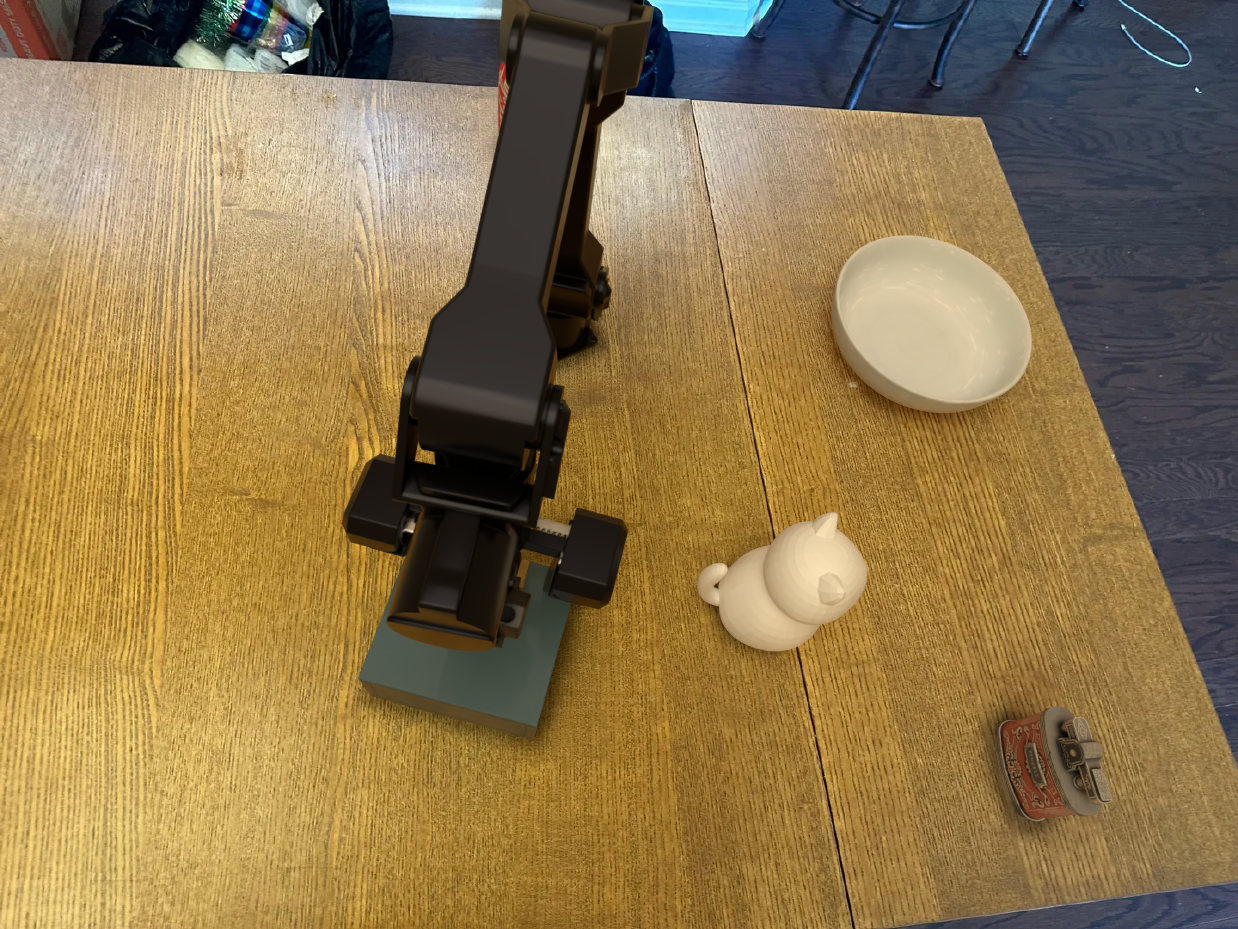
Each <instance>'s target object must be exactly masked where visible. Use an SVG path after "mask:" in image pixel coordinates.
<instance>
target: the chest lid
mask: <svg viewBox="0 0 1238 929" xmlns="http://www.w3.org/2000/svg"><path fill="white" fill-rule="evenodd" d="M405 557H406V556H404V559H403V561H402V564H401V567H400V569H399V572H398V574H397V577H396V579H395V582H394V585H393V587H392V590H391V592H390V594H389V597H388V600H387V602H386V605H385V608H384V610H383V612H382V615H381V618H380V621H379V623H378V625H377V628H376V631H375V633H374V635H373V638H372V641H371V644H370V646H369V649H368V651H367V654H366V657H365V659H364V662H363V663H362V666H361V670H360V672H359V674H358V677H357V678H358V681H359V682H360V681H364V682H367V683H371V684H375V685H378V686H382V687H386V688H389V689H393V690H397V691H401V692H404V693H408V694H412V695H415V696H419V697H423V698H426V699H430V700H434V701H437V702H441V703H445V704H449V705H452V706H456V707H460V708H463V709H467V710H471V711H474V712H478V713H482V714H486V715H489V716H493V717H497V718H500V719H504V720H508V721H511V722H515V723H519V724H522V725H526V726H530V727H534V728H537V729H538V726H539V723H538V722H540V719H541V716H540V715H542V712H541V711H543V708H544V705H543V704H545V701H546V697H547V694H548V690H549V687H550V683H551V679H552V676H551V675H553V672H554V668H555V665H556V661H557V658H558V654H559V650H560V647H559V646H561V643H560V642H562V639H563V636H564V632H565V628H566V625H567V621H568V617H569V614H570V610H571V607H570V606H572V603H570V602H566V601H562V600H558V599H555V598H551V597H548V592H544V591H543V590H542V588H543V585H544V581H545V578H546V575H547V571H548V568H549V565H545V564H541V563H539V562H534V561H531V560H527V559H524V558H522V560H521V564H520V567H519V570H518V574H517V577H521V582H520V585H519V588H520V590H521V591H524V592H527V593H530V594H531V599H530V603H529V606H528V610H527V613H526V617H525V620H524V624H523V628H522V631H521V634H520V637H519V638H518V639H513V638H509V637H506V638H505V639H504V642H503V645H502V648H498V647H493V648H492V649H490V650H487V651H459V650H452V649H446V648H441V647H436V646H432V645H428V644H425V643H421V642H418V641H415V640H412V639H410V638H407V637H405V636H402V635H400V634H398V633H396V632H395V631H393V630H392V629H390V628H389V627H388V626H387V624H386V620H387V617H388V613H389V610H390V607H391V603H392V600H393V597H394V594H395V590H396V587H397V584H398V580H399V577H400V574H401V571H402V567H403V564H404V561H405ZM569 609H570V610H569ZM568 613H569V614H568ZM566 620H567V621H566ZM565 624H566V625H565ZM563 631H564V632H563ZM562 635H563V636H562ZM558 649H559V650H558ZM557 653H558V654H557ZM555 660H556V661H555ZM554 664H555V665H554ZM552 671H553V672H552ZM550 678H551V679H550ZM549 682H550V683H549ZM548 686H549V687H548ZM547 689H548V690H547ZM546 693H547V694H546ZM544 700H545V701H544ZM539 718H540V719H539Z"/></svg>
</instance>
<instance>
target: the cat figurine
mask: <svg viewBox="0 0 1238 929" xmlns="http://www.w3.org/2000/svg"><path fill="white" fill-rule="evenodd" d="M838 523H839V514H838V513H836V512H835V511H831V512H826V513H822V514H821V515H819V516H818V517H816V518H815V519H814V520H813V521H812V520H804V521H799V522H795V523H793V524H791V525H789V526H786V528H784V529H783V530H781V532H780V533H779V534H777V535H776V536H775V537H774V539H773V540H772V541H771V543H770V544H768V545H764V546H759V547H756V548H753V549H751V550H750V551H749V550H748V552H746V553H744V554H743V555H741V556H739V557H738V558H737V559H736V560H735V561H734V562H733V563H732V564H730V566H729V567H728V565H726V564H725V563H724V562H715V563H711V564H710V565H708V566H706V567H705V568H703V570H702V571H701V572H699V576H698V577H697V579H696V580H697V581H696V589H697V593H698V595H699V597H700V598H701V599H702V601H704V602H705V603H707V604H709V605H711V606H712V605H713V606H714V607H718V613H719V614H718V615H719V618H720V621H721V624H722V625H723V627H724V628H725V630H726V632H727V633H729V634H730V635H731V636H732V637H733V638H734V639H736V640H737V641H738V642H740V643H742V644H744V645H746V646H748V647H751V648H753V649H757V650H760V651H766V652H786V651H790V650H793V649H795V648H798V647H799V646H801V645H803V644H805V643H806V642H808V641H809V640H810V639H811V638H813V636H814V634H816V632H817V631H818V630H819V628H820V626H821V625H826V624H829V623H832V622H834V621H835V620H838V619H839V618H841V617H842V616H843V615H845V614H846V613H847V612H848V611H849V610H850V609H851V608H853V606H854V605H855V604H856V603H857V602H858V601H859V599H860V598H861V596H862V595H863V593H864V592H865V589H866V586H867V582H868V567H867V563H866V561H865V559H864V557H863V554H862V553H861V552H860V550H859V549H858V547H856V544H854V543H853V541H852V540H851V539H850V538H849V537H847V535H845V534H844V532H842V531H841V530H839V529H838ZM717 584H718V588H717V587H715V586H716V585H717Z"/></svg>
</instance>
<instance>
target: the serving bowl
mask: <svg viewBox="0 0 1238 929" xmlns="http://www.w3.org/2000/svg"><path fill="white" fill-rule="evenodd" d="M837 275H838V276H837V278H836V282H835V285H834V288H833V292H832V297H831V306H830V319H831V327H832V332H833V336H834V338H835V341H836V344H837V346H838V349H839V351H840V354H842V357H843V358H844V360H845V362H846V363H847V364H848V366H849V367H850V369H851V370H852V371H853V373H854V374H855V375H856V376H857V377H858V378H860V379H861V380H862V382H863V383H864V384H866V385H867V386H868V387H869V388H870V389H872V390H874V391H875V392H876V393H878V394H879V395H881V396H882V397H884V398H886V399H888V400H889V401H892V402H893V403H896V404H898V405H900V406H903V407H905V408H909V409H912V410H917V411H921V412H927V413H932V414H933V413H934V414H935V413H936V414H950V413H951V414H952V413H954V414H955V413H959V412H960V413H961V412H965V411H969V410H973V409H977V408H979V407H981V406H984V405H986V404H988V403H990V402H992V401H994V400H996V399H997V398H999V397H1001V396H1003V395H1004V394H1006V393H1008V392H1009V391H1010V390H1011V389H1012V388H1014V387H1015V386H1016V385H1017V383H1019V381H1020V380H1021V378H1023V376H1024V374H1025V372H1026V371H1027V368H1028V366H1029V363H1030V360H1031V356H1032V351H1033V335H1032V334H1033V333H1032V329H1031V325H1030V321H1029V318H1028V315H1027V312H1026V310H1025V308H1024V306H1023V305H1022V302H1021V300H1020V299H1019V297H1018V295H1017V294H1016V292H1015V291H1014V290H1013V288H1012V287H1011V286H1010V285H1009V284H1008V282H1007V281H1006V280H1005V279H1004V278H1003V277H1002V276H1001V275H1000V274H999V273H998V272H997V271H996V270H994V269H993V267H991V266H990V265H989V264H987V263H986V262H985V261H983V260H982V259H981V258H979V257H977V256H976V255H975V254H972V253H971V252H969V251H967V250H965V249H963V248H961V247H960V246H957V245H955V244H952V243H950V242H946V241H943V240H940V239H937V238H933V237H927V236H922V235H911V234H904V235H903V234H902V235H901V234H900V235H891V236H886V237H885V236H884V237H881V238H878V239H875V240H872V241H870V242H868V243H866V244H864V245H862V246H860V247H859V248H858V249H857V250H855V251H854V252H853V253H852V254H851V255H850V256H849V257H848V258H847V259H846V261H845V262H844V264H843V265H842V267H841V269H840V270H839V273H838V274H837Z"/></svg>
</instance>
